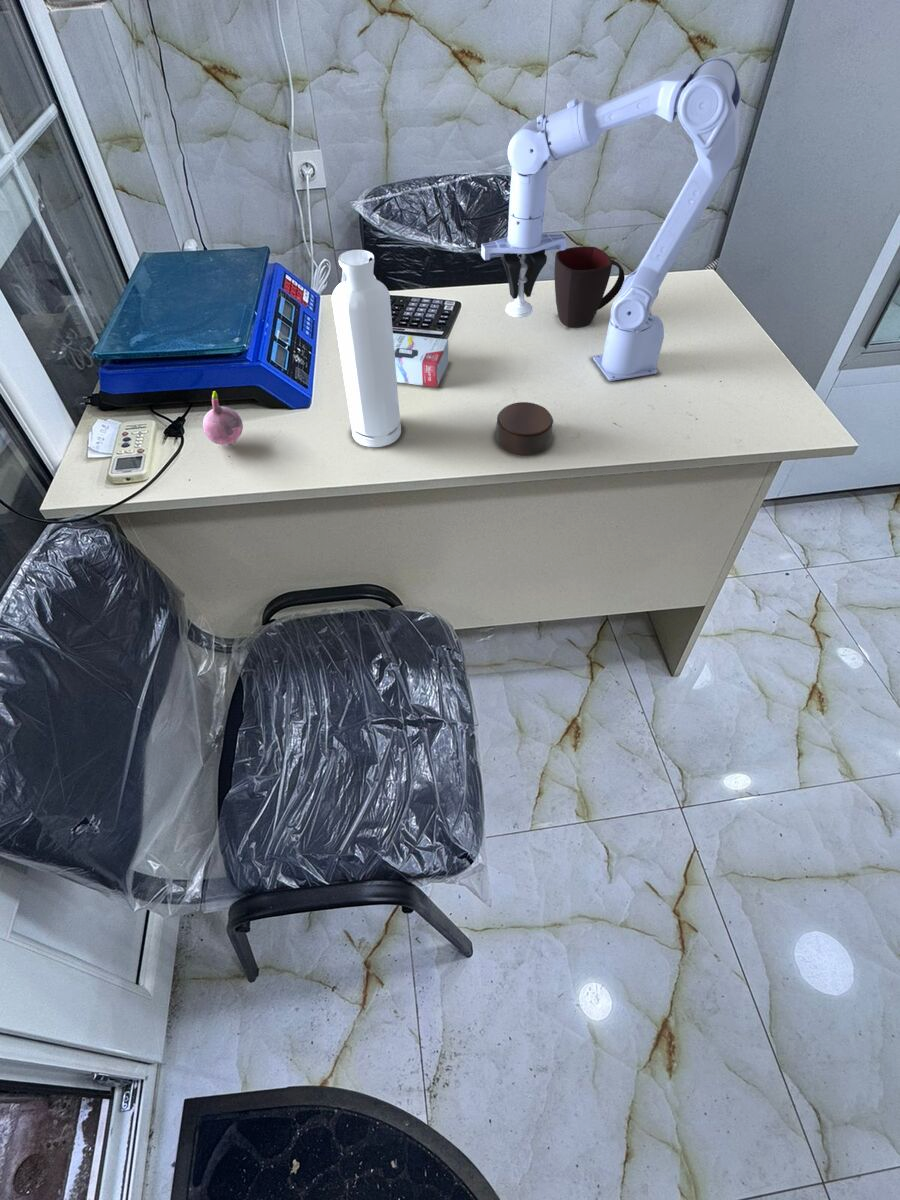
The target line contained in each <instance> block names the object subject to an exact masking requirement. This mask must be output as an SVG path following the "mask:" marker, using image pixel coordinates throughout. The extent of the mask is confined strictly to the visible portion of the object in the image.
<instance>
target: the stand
mask: <svg viewBox="0 0 900 1200" xmlns="http://www.w3.org/2000/svg"><path fill="white" fill-rule="evenodd" d="M553 427H554V418H553V416H552V414H551V413H550V411H549V410H548V409H547V408H546V407H544V406H542V405H540V404H538V403H534V402H529V401H520V402H519V401H518V402H513V403H511V404H508V405H506V406H505V407H503V408H502V409H501V410H500V411H499V412H498V414H497V417H496V428H495V440H496V443H497V445H498V446H499V447H500V448H501V449H502V450H504V451H505V452H508V453H510V454H511V455H515V456H533V455H537V454H540V453H542V452H544V451H545V450H546V449H548V448H549V446H550V444H551V440H552V434H553Z"/></svg>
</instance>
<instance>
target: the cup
mask: <svg viewBox="0 0 900 1200" xmlns="http://www.w3.org/2000/svg"><path fill="white" fill-rule="evenodd" d="M613 266H615V267H617V268H618V277H617V279H616V281H615V283H614V284H613V286H612V288H611V289H610V290H608V292H607V293H606V294H605V292H606V289H607V287H608V284H609V281H610V277H611V272H612V269H613V268H612V267H613ZM625 278H626V276H625V271H624V268H623V267H622V265H621V264H620V263H619V262H618V261H616V260H614V259H612V258H611V257H610V256H609V254H607V252H605V251H604V250H602V249H600V248H598V247H596V246H576V247H575V246H574V247H566V249H565V250H562V251H560V250H558V251H556V252H555V257H554V292H555V303H556V310H557V311H556V312H557V315H558V320H559V321H560V323H561V324H562V325H563V326H565V327H566V328H568V329H569V328H570V329H576V328H584V327H586V326H589V325H591V323H592V322H593V320H594V318H595V316H596V315H597V313H598V311H599V310H601V309H602V308H604V307H606V306H607V305H608V304H609V303H610V302H611V301H612V300H614V298H615V297H616V296H618V294H619V292H620V290H621V288H622V285H623V282H624V280H625Z"/></svg>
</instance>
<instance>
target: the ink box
mask: <svg viewBox="0 0 900 1200" xmlns="http://www.w3.org/2000/svg"><path fill="white" fill-rule="evenodd" d="M393 340H394V353H395V365H396V377H397V383H402V384H410V385H416V386H423V387H430V388H431V387H432V388H438V387H439V386H440V383H441V381H442V379H443V377H444V374H445V372H446V370H447V368H448V365H449V339H444V338H438V337H429V336H421V335H411V334H403V333H396V332H395V333H394V332H393Z"/></svg>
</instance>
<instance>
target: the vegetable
mask: <svg viewBox="0 0 900 1200" xmlns="http://www.w3.org/2000/svg"><path fill="white" fill-rule="evenodd" d="M211 404H212V409H210V410H208V411H207V413H205V415H204V417H203V420H202V428H203V431H204V434H205V435H206V437H207V438H208V440H209V441H211V442H212V443H213V444H216V445H219V446H232V445H233V444H235V443H236V442H237V441H238V440H239V439H240V437H241V435H242V433H243V428H244V424H243V419H242V418H241V416H240V414H239V413H238V412H236V411H235V410H234V409H233V408H231V407H227V406H220V402H219V396H218V393H217V392H216V390H214V391H212V395H211Z"/></svg>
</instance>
